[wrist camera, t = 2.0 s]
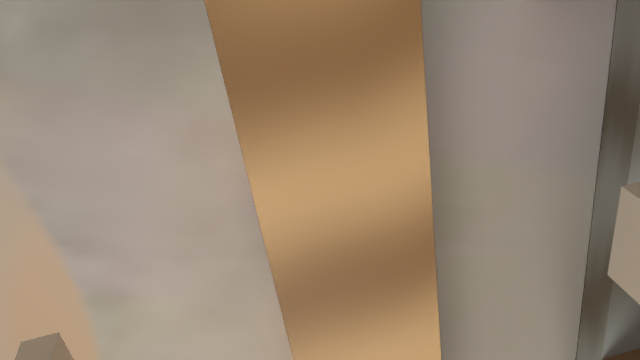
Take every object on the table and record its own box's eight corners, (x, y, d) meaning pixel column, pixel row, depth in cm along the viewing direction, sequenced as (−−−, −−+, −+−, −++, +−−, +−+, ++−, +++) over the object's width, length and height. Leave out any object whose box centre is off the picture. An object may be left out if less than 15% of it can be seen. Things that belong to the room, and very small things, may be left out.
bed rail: (406, 443, 25) (452, 559, 20) (322, 468, 24) (351, 592, 20) (310, -402, 11) (386, -589, 7) (114, -379, 11) (63, -565, 6)
